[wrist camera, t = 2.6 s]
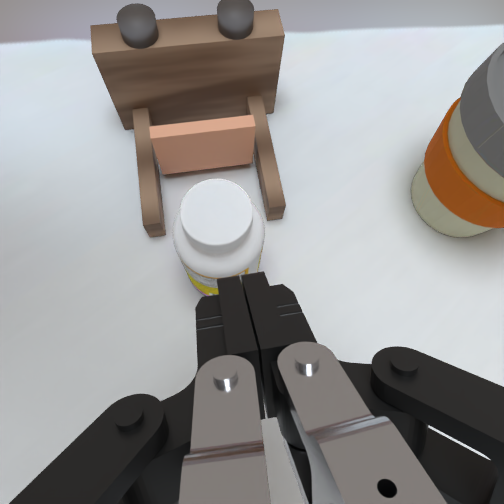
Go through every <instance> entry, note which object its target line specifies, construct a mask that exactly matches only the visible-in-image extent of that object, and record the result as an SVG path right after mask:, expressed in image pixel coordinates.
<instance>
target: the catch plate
mask: <svg viewBox="0 0 504 504" xmlns="http://www.w3.org/2000/svg"><path fill="white" fill-rule="evenodd" d="M255 127H256V126H255V121H254V116H253V115H246V116H237V117H229V118H220V119H211V120H202V121H194V122H185V123H176V124H167V125H159V126H150V127H149V129H150V139H151V142H152V144H153V147H154V150H155V153H156V156H157V159H158V162H159V165H160V168H161V171H162V174H163V175H164V174H172V173H180V172H188V171H196V170H204V169H212V168H220V167H227V166H235V165H243V164H251V163H252V161H253V150H254V139H255Z"/></svg>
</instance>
